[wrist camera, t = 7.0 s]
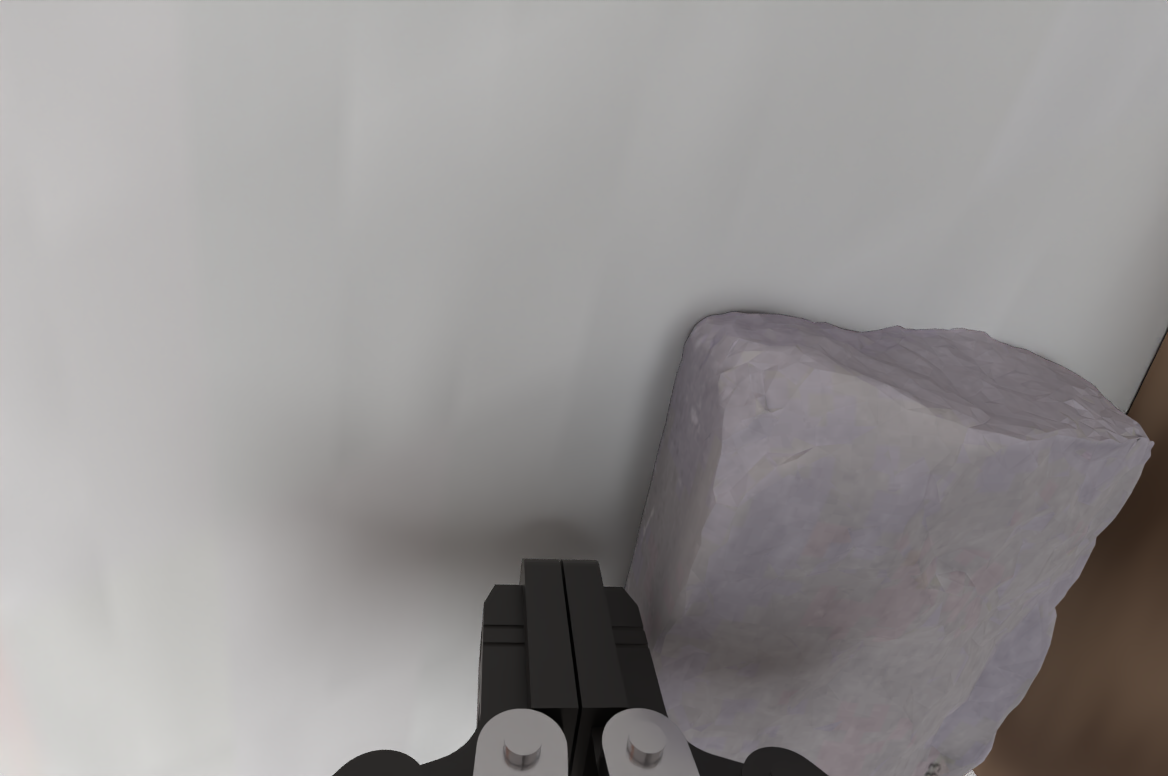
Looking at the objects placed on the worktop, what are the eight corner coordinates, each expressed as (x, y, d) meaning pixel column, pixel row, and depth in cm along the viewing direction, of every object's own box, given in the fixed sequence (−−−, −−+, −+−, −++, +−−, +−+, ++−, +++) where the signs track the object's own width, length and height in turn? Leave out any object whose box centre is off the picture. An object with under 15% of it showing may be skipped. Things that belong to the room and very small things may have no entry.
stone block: (1027, 308, 16) (649, 282, 13) (1253, 401, 12) (791, 400, 9) (862, 664, 21) (558, 713, 18) (983, 814, 17) (621, 915, 14)
